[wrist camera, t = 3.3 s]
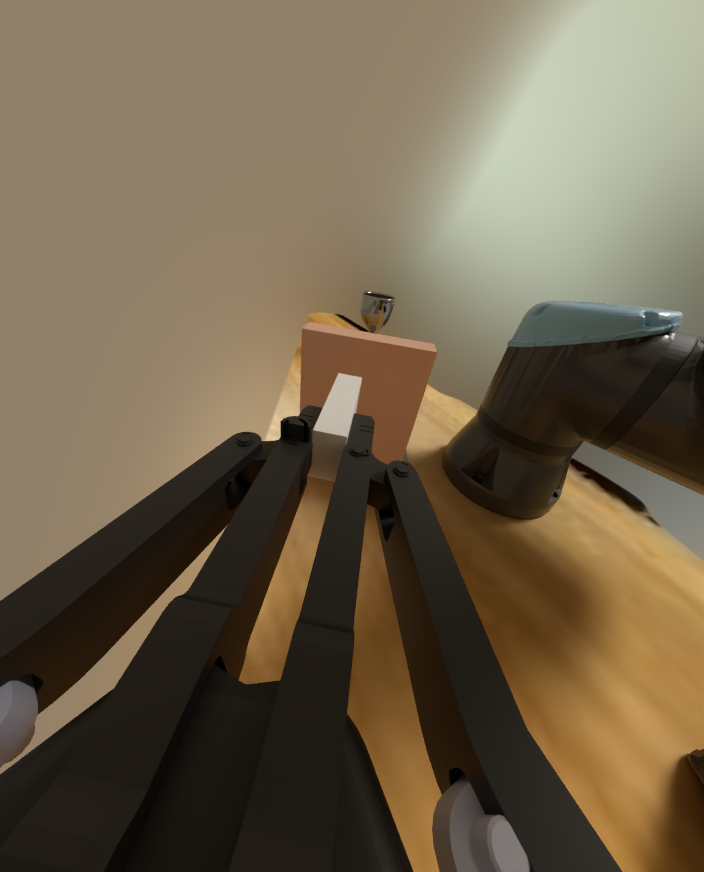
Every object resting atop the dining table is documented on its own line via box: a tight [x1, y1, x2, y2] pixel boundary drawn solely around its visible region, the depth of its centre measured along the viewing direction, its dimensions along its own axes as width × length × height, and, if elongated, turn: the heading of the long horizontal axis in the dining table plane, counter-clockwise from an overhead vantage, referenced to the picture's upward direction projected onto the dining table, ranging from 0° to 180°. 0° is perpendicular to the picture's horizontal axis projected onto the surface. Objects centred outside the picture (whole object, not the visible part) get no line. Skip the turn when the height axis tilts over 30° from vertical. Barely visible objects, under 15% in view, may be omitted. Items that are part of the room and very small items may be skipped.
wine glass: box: [361, 291, 395, 334], centre depth 68 cm, size 8×8×15 cm
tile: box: [300, 322, 437, 482], centre depth 30 cm, size 12×2×18 cm, turn 82°
